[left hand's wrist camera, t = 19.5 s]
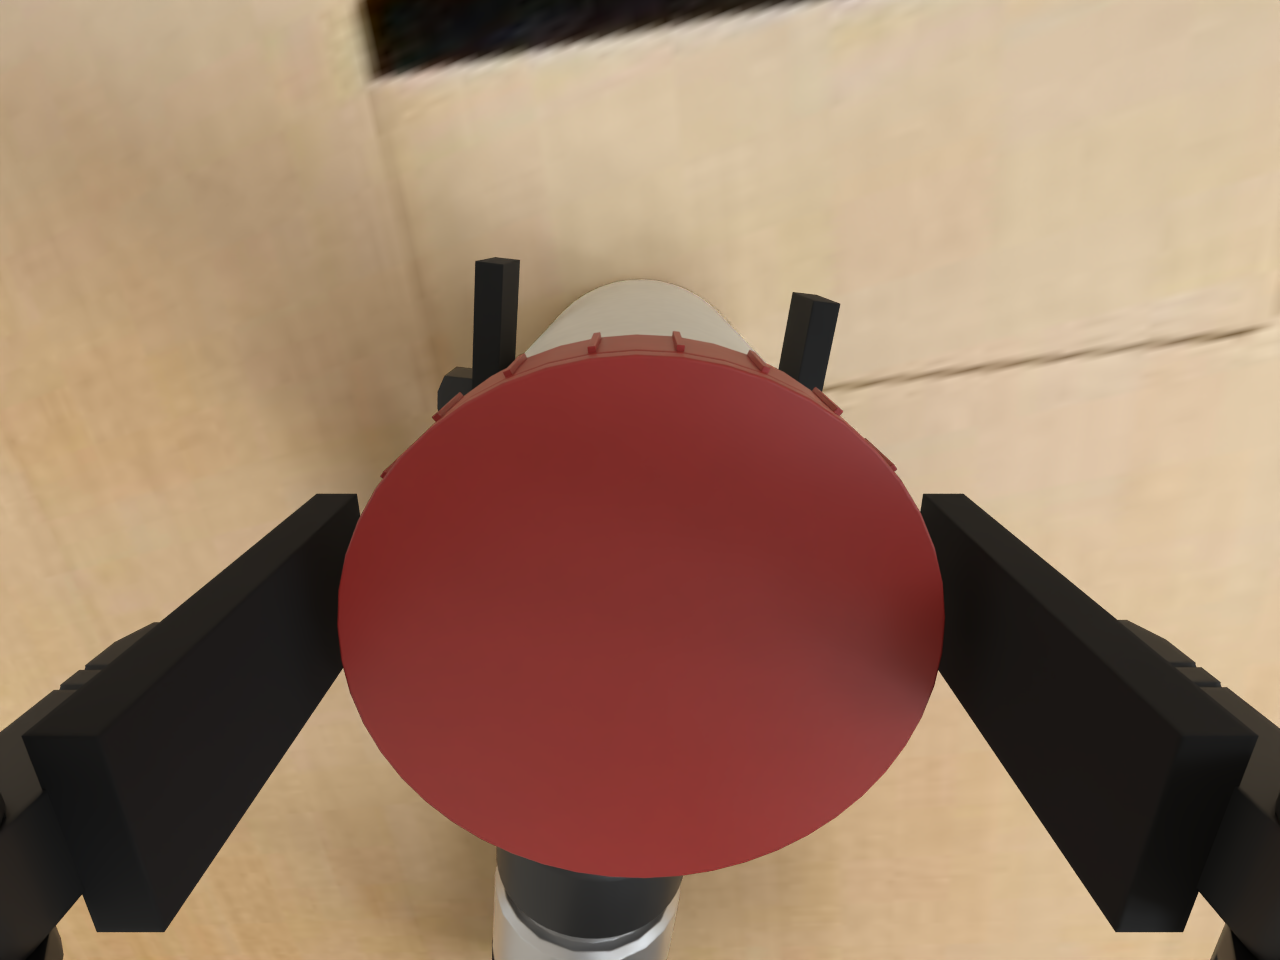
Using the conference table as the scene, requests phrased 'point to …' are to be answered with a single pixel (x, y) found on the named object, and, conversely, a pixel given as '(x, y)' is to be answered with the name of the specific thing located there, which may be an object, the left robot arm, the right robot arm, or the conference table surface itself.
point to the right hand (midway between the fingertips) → (658, 279)
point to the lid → (641, 609)
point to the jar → (639, 316)
